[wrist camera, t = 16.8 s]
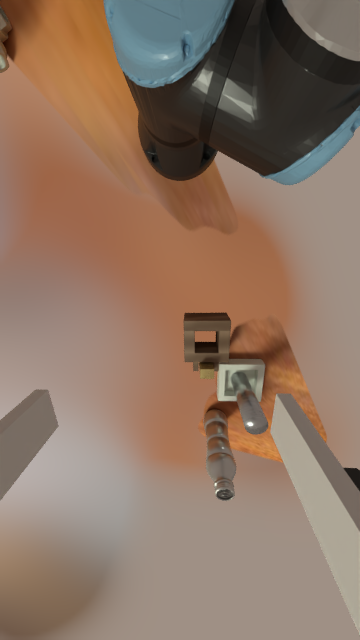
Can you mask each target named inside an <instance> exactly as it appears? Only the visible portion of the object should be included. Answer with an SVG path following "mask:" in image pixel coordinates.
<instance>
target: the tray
mask: <svg viewBox="0 0 360 640" xmlns="http://www.w3.org/2000/svg"><path fill="white" fill-rule="evenodd" d="M264 371H265V364H264V362H263V361H262V359H229V362H219V371H218V379H217V397H218V401H237V400H236V396H235V393H234V390H233V387H232V383H231V380H230V378H231V376H232V374H233V373H235V372H243V373H245V374H246V375H247V377H248V380H249V382H250V384H251V386H252V389H253V391H254V393H255V395H256V397H257V400H258V402H261V395H262V387H263V379H264Z"/></svg>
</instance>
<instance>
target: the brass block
mask: <svg viewBox="0 0 360 640" xmlns="http://www.w3.org/2000/svg"><path fill="white" fill-rule="evenodd" d="M199 366H200V378H201V379H202V378H203V379H205V378H206V379H213V378H214V366H213V362H199Z"/></svg>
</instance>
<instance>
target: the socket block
mask: <svg viewBox="0 0 360 640" xmlns="http://www.w3.org/2000/svg"><path fill="white" fill-rule="evenodd" d="M230 329H231V320H230V318H229V317H228V315H227V313H185V315H184V355H185V362H193V370H194V371H198V362H213V366H214V371H219V362H229V347H230ZM194 331H216V342H195V338H194V337H195V335H194V333H195V332H194Z"/></svg>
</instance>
